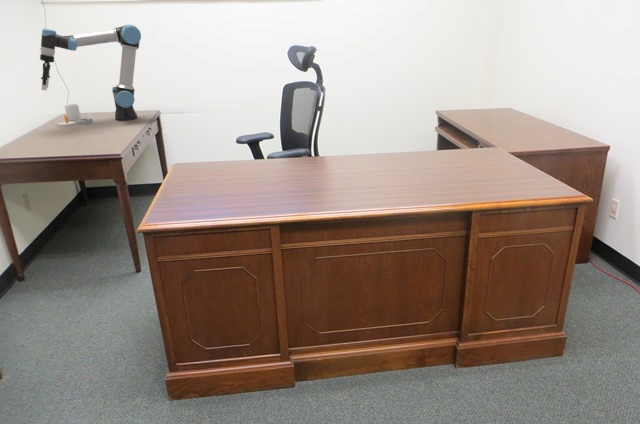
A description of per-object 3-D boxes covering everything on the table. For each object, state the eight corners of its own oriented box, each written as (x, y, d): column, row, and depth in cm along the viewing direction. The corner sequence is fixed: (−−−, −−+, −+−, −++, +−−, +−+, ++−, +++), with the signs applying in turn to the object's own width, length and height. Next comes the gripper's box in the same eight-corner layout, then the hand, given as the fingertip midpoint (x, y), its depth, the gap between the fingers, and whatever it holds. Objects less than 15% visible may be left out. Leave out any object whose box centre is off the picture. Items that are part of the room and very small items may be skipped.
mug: (82, 117, 344) (79, 103, 340) (80, 120, 334) (77, 105, 330) (69, 118, 342) (66, 103, 337) (67, 121, 331) (63, 106, 327)
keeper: (77, 123, 324) (75, 114, 321) (68, 126, 316) (65, 117, 313) (67, 123, 326) (65, 114, 323) (57, 126, 318) (55, 116, 315)
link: (92, 122, 326) (92, 118, 325) (85, 124, 320) (84, 120, 319) (84, 122, 328) (83, 118, 327) (77, 124, 322) (76, 120, 321)
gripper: (42, 52, 300) (39, 85, 306) (38, 54, 279) (36, 89, 285) (55, 55, 304) (52, 87, 309) (53, 57, 283) (50, 92, 288)
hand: (44, 88), depth 297 cm, fingers open, 13 cm apart
